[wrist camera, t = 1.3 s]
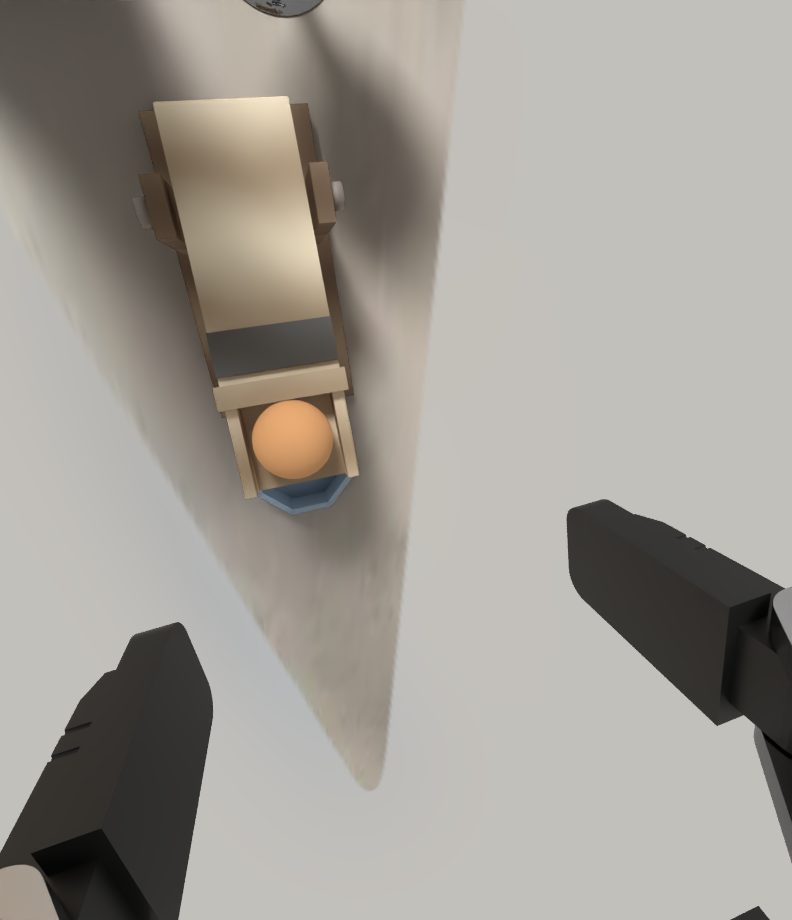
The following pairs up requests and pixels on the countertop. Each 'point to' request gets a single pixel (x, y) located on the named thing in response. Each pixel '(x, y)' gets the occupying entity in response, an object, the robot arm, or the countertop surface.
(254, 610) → the countertop surface
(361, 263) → the countertop surface
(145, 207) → the stand
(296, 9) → the wine glass
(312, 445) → the ball
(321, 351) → the lever
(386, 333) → the countertop surface
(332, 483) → the blue-grey shallow bowl
